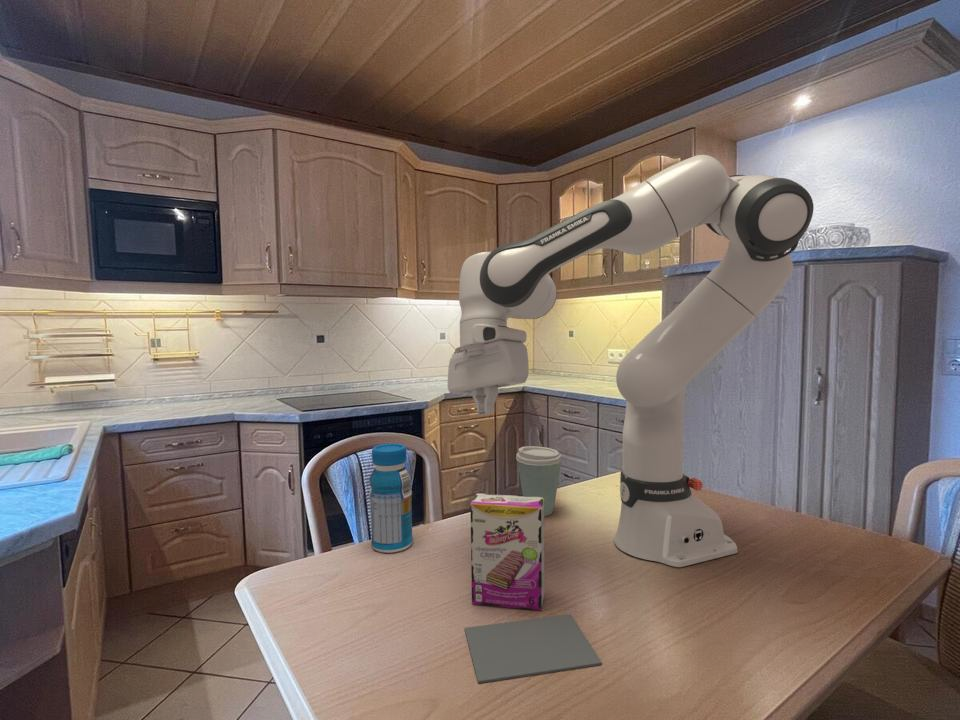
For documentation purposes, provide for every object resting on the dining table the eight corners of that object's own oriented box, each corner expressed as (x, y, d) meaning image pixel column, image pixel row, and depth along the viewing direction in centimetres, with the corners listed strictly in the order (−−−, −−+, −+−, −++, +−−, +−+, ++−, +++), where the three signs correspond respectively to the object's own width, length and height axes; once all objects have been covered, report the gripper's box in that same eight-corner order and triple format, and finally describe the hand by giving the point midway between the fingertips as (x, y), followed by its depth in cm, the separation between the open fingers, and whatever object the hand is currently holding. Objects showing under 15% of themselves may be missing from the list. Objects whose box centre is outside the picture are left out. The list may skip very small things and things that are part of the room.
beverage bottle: (377, 558, 93) (373, 454, 92) (366, 541, 101) (362, 445, 100) (419, 548, 97) (416, 448, 96) (405, 533, 105) (402, 440, 104)
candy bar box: (470, 606, 77) (468, 502, 76) (477, 589, 81) (475, 492, 80) (543, 613, 74) (541, 506, 73) (545, 595, 79) (544, 495, 78)
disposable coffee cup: (550, 501, 122) (549, 442, 121) (571, 517, 112) (570, 452, 111) (510, 507, 119) (509, 446, 118) (528, 524, 108) (527, 456, 107)
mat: (570, 615, 73) (570, 613, 73) (602, 664, 63) (602, 662, 63) (464, 629, 71) (464, 627, 70) (478, 683, 60) (478, 681, 60)
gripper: (439, 347, 98) (440, 417, 95) (505, 325, 82) (507, 409, 79) (465, 350, 102) (466, 418, 99) (533, 330, 85) (536, 410, 83)
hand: (485, 414), depth 89 cm, fingers closed
